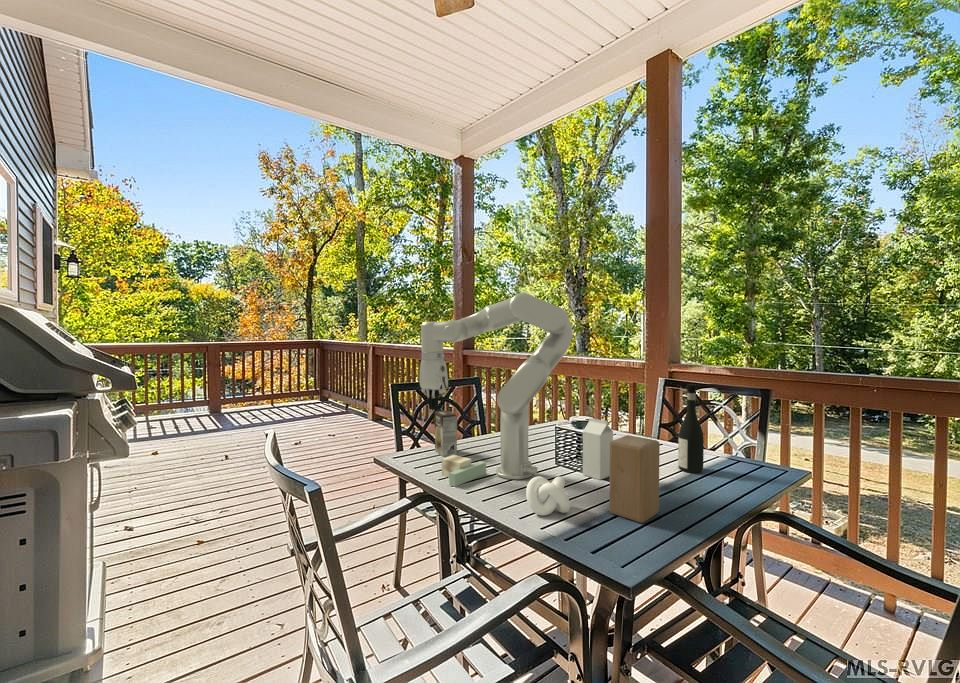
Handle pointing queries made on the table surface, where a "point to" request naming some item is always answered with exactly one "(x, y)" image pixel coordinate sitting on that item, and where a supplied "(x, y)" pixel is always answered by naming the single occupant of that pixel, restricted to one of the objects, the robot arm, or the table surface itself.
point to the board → (467, 473)
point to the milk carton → (597, 449)
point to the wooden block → (634, 478)
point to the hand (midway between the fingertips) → (433, 408)
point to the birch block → (454, 464)
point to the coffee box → (446, 433)
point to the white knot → (547, 496)
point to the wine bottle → (691, 437)
